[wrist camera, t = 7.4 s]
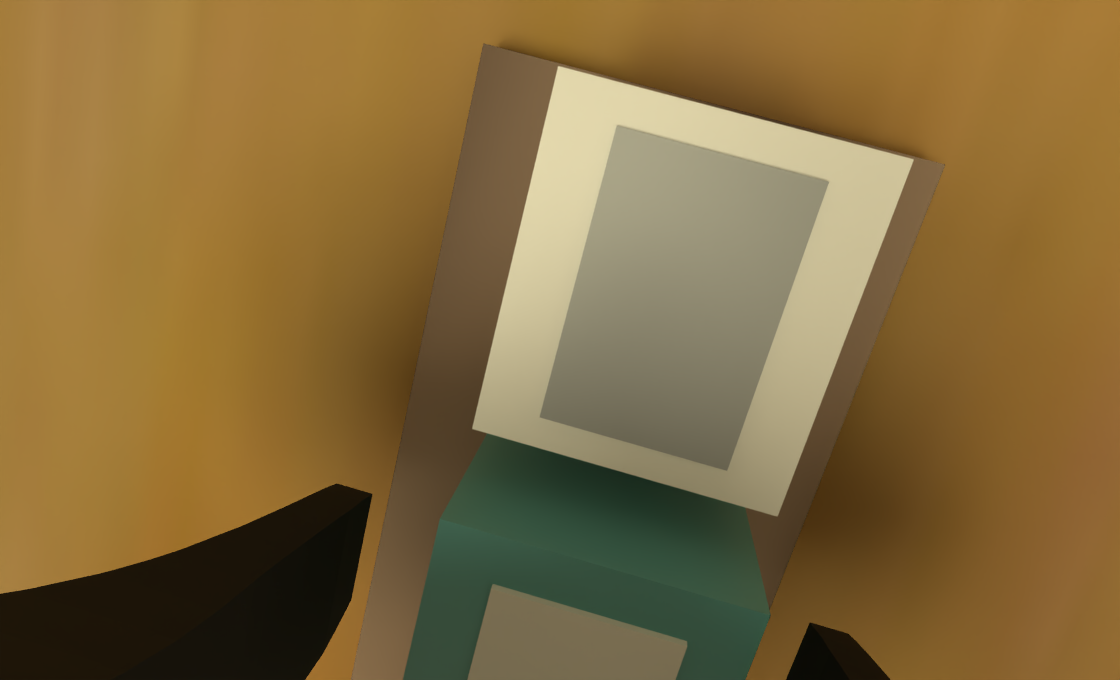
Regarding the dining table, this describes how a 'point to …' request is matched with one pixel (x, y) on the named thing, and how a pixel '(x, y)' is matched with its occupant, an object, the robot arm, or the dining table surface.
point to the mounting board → (469, 326)
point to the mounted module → (682, 288)
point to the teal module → (585, 577)
